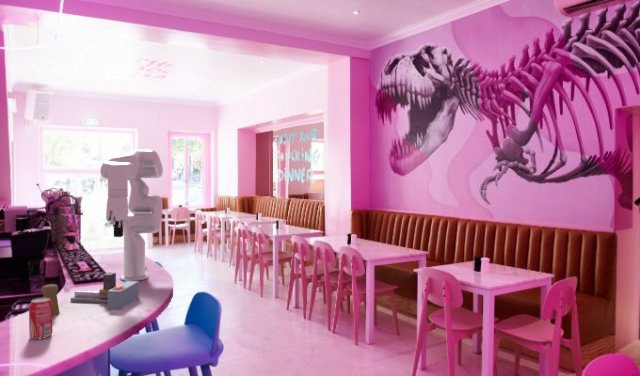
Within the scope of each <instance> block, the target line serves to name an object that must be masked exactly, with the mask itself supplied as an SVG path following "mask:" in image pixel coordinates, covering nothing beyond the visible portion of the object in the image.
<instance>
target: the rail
mask: <svg viewBox="0 0 640 376" xmlns="http://www.w3.org/2000/svg"><path fill="white" fill-rule="evenodd" d="M70 303H85V304H86V303H91V304H108V298H99V290H98V291H95V290H93V291H91V290H75V291H74V296H72V297H70Z"/></svg>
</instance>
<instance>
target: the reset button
mask: <svg viewBox="0 0 640 376" xmlns="http://www.w3.org/2000/svg"><path fill="white" fill-rule="evenodd" d="M122 289H123V286H118V285H116V286H115V287H114V290H122Z"/></svg>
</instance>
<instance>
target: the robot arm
mask: <svg viewBox="0 0 640 376" xmlns="http://www.w3.org/2000/svg"><path fill="white" fill-rule="evenodd" d="M163 172H164V168H163V164H162V161H161V158H160V156H159V153H158V152H157V151H156V150H153V149H132V150H130V151H129V152H128V153H126V154H124V155H121V156H116V157H112V158H108V159H106V160H105V161H104V162H102V165H101V167H100V175H101V177H102V178H103V179H104V180H107V202H106V208H105V209H106V215H105V220H106V221H107V222H109V224H110V225H111V226H112V228H113V236H114V237H113V238H115V237H116V238H121V237H123V274H122V275H120V278H119V279H120V280H121V281H123V282H126V281H139V282H140V281H143V280H147V279H148V278H149V274H148V273H146V271H148V267H147V266H146V242H145V238H144V237H143V236H142V235H141V234H156V233H158V232H159V231H160V229H161V225H162V217H163V216H162V214H163V208H164V207H163V199H162V197H161V196H160V195H156V194H149V193H150V188H149V185H148V184H147V183H146V182H145V181H144V180H143V179H159V178H161V177H162V175H163V174H164V173H163ZM128 182H129V183H128ZM129 184H130V193H128V192H129V191H128V190H129V188H128V187H129ZM128 194H129V195H128ZM128 197H129V198H128ZM129 212H130V213H129Z"/></svg>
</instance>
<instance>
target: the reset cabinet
mask: <svg viewBox="0 0 640 376" xmlns="http://www.w3.org/2000/svg"><path fill="white" fill-rule="evenodd" d="M139 284H140V280H139V281H123V283H120V284H119V285H117V286H123V289H122V290H114V288H113V289H111V290H109V291H108V303H107V310H123V309H124V308H125V307H127V306H129V305H130V304H131V303H133V302H134V301H135V302H136V300H138V299H140V285H139Z"/></svg>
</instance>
